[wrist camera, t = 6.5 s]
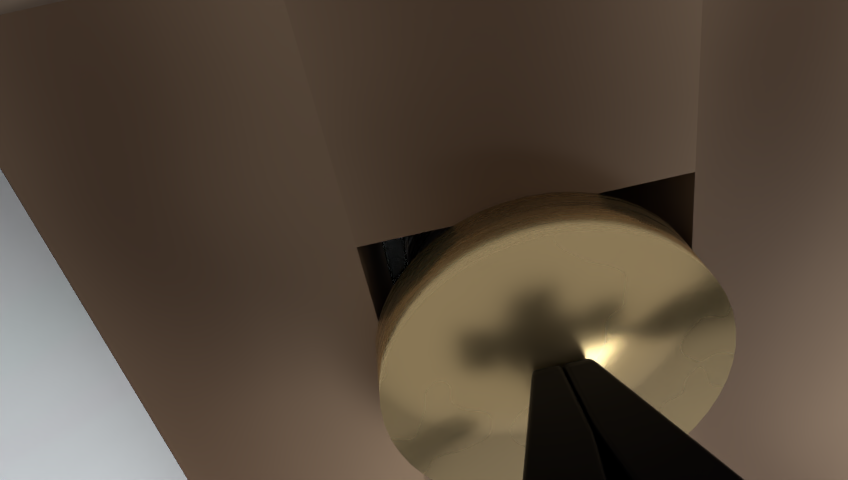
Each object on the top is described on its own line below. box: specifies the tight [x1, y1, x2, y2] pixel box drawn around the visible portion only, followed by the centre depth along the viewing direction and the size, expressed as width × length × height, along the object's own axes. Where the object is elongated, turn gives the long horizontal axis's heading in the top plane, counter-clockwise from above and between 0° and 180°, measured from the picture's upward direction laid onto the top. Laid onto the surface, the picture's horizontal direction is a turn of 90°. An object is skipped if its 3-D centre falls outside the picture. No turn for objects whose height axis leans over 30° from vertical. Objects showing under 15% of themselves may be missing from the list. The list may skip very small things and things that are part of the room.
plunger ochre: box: [376, 192, 736, 480], centre depth 11 cm, size 5×5×5 cm
